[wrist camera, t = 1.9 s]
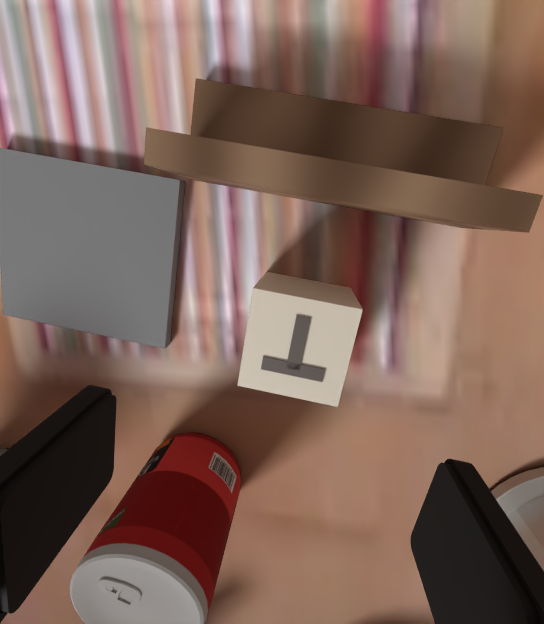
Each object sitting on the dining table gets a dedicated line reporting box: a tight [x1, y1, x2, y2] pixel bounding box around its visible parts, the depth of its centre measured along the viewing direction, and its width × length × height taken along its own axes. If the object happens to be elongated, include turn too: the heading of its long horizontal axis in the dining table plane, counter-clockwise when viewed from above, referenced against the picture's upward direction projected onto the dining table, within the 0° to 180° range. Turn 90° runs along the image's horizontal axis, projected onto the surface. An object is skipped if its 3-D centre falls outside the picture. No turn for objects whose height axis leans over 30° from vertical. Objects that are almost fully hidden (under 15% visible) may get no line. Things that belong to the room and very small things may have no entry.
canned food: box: [70, 433, 241, 624], centre depth 24 cm, size 8×8×11 cm
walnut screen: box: [144, 79, 543, 232], centre depth 18 cm, size 18×6×7 cm, turn 80°
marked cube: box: [237, 272, 363, 407], centre depth 22 cm, size 6×6×6 cm
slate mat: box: [0, 148, 185, 349], centre depth 25 cm, size 13×12×1 cm
